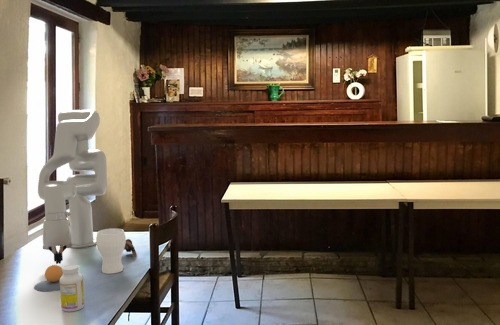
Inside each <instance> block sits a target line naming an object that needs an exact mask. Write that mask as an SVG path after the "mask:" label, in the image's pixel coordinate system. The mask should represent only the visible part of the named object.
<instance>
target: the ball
mask: <svg viewBox="0 0 500 325" xmlns="http://www.w3.org/2000/svg"><path fill="white" fill-rule="evenodd" d="M62 268H63V267H61V266H60V265H58V264H52V265H49V266H48V267H47V268H46V269H45V271H44V277H45V280H48V281H49V282H57V281H59V280H60V278H61V276H63V272H62Z"/></svg>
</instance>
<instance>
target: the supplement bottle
mask: <svg viewBox="0 0 500 325" xmlns="http://www.w3.org/2000/svg"><path fill="white" fill-rule="evenodd" d="M61 268H62V272H63V276H61V278H60V290H59V292H60V307H61V310H62V311H64V312H76V311H79V310H81V309H83V308H84V307H85V296H84V294H85V293H84V292H85V291H84V278H83V275H82V274H81V273H79V271H80V269H79V265H76V264H73V265H72V264H71V265H65V266H63V267H61Z"/></svg>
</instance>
